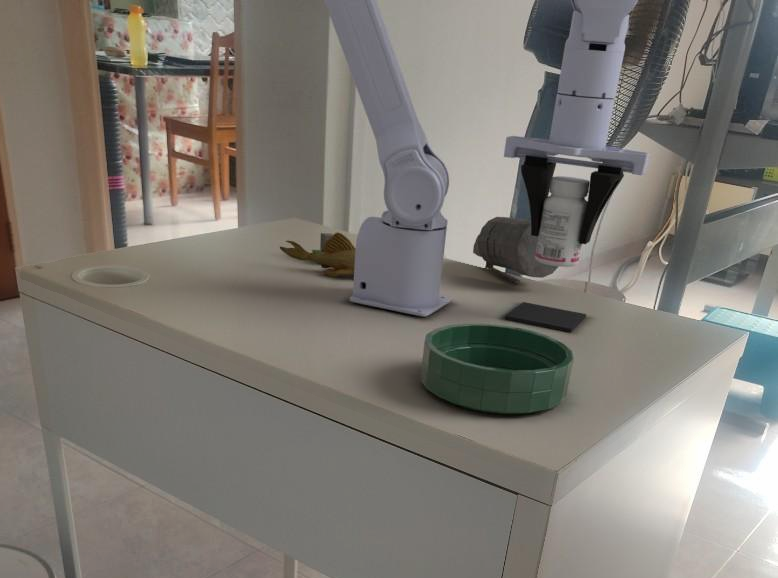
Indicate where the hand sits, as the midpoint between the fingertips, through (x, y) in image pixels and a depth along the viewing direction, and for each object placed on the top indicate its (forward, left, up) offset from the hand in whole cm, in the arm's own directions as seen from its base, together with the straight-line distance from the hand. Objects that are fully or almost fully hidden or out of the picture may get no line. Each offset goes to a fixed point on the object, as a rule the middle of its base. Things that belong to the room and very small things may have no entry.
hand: (559, 238), depth 90 cm
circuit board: (-30, +12, -7) cm, 33 cm away
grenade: (-4, +11, -4) cm, 12 cm away
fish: (-28, +2, -9) cm, 30 cm away
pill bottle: (0, 0, -3) cm, 3 cm away
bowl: (+2, -25, -9) cm, 26 cm away
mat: (0, +1, -9) cm, 9 cm away
